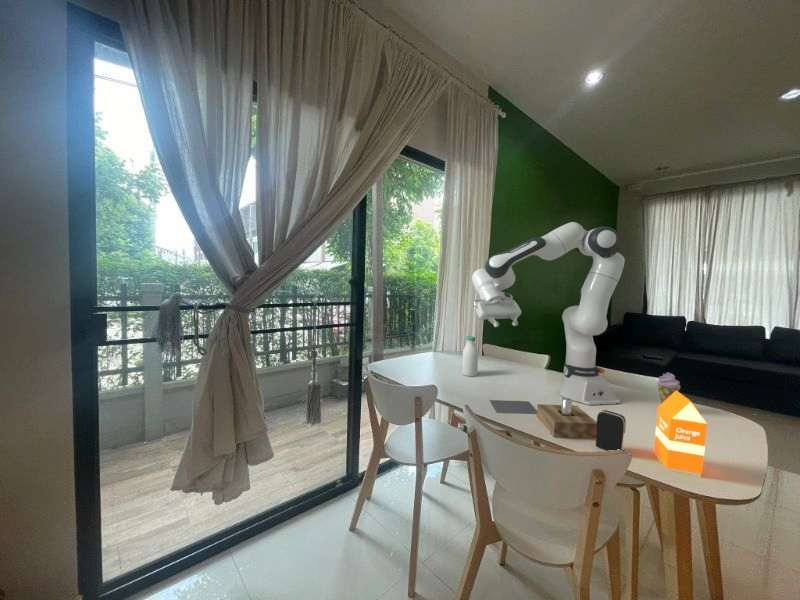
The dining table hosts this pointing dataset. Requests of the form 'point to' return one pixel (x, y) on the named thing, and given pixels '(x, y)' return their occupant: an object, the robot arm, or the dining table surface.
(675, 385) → the ice cream cone
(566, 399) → the pin
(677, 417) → the orange juice
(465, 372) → the milk bottle
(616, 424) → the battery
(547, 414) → the socket block
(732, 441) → the dining table surface
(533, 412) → the mat
